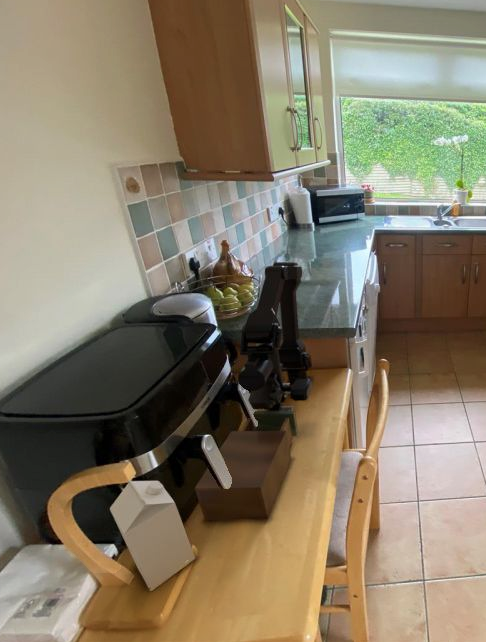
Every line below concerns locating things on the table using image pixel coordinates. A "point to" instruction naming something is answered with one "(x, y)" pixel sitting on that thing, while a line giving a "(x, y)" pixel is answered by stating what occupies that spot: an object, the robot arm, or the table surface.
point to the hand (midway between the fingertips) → (277, 416)
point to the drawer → (274, 421)
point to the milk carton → (152, 531)
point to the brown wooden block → (247, 476)
